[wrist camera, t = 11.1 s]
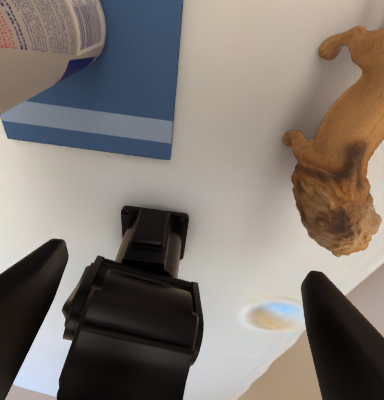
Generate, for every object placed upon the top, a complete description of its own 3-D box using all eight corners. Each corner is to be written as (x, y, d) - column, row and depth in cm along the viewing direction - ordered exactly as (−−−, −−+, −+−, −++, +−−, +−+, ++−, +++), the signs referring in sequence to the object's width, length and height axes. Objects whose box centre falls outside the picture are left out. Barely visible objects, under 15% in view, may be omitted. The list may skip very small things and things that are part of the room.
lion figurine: (329, 185, 23) (383, 272, 15) (267, 180, 23) (293, 264, 15) (438, -49, 13) (692, -100, 6) (335, -57, 14) (473, -116, 6)
